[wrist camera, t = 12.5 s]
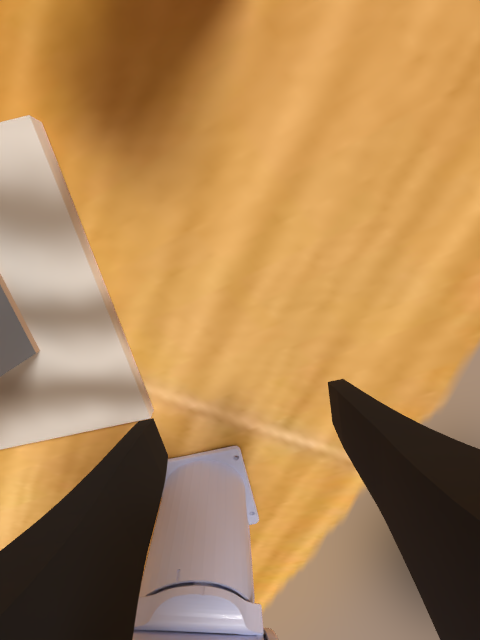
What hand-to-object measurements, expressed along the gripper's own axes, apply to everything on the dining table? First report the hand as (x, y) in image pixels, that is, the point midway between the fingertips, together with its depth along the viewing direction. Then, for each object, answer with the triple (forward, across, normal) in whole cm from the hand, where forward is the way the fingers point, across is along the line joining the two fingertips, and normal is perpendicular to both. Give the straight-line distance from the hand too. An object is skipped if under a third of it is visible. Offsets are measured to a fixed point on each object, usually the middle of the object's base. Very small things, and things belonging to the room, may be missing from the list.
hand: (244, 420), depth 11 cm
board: (+9, +16, -5) cm, 19 cm away
